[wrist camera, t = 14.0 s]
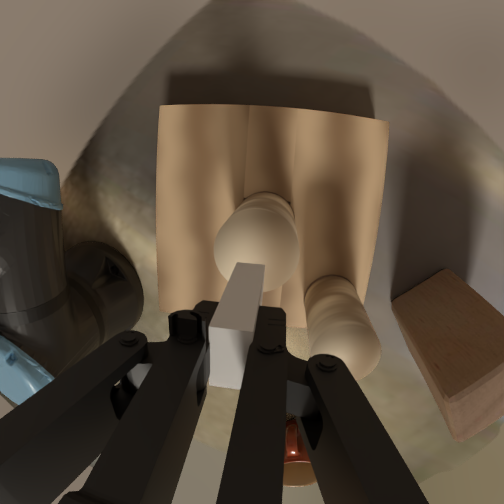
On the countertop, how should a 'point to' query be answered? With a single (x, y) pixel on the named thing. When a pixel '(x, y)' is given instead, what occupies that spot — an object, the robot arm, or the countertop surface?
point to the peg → (260, 239)
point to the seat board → (290, 188)
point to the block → (456, 350)
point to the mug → (296, 459)
